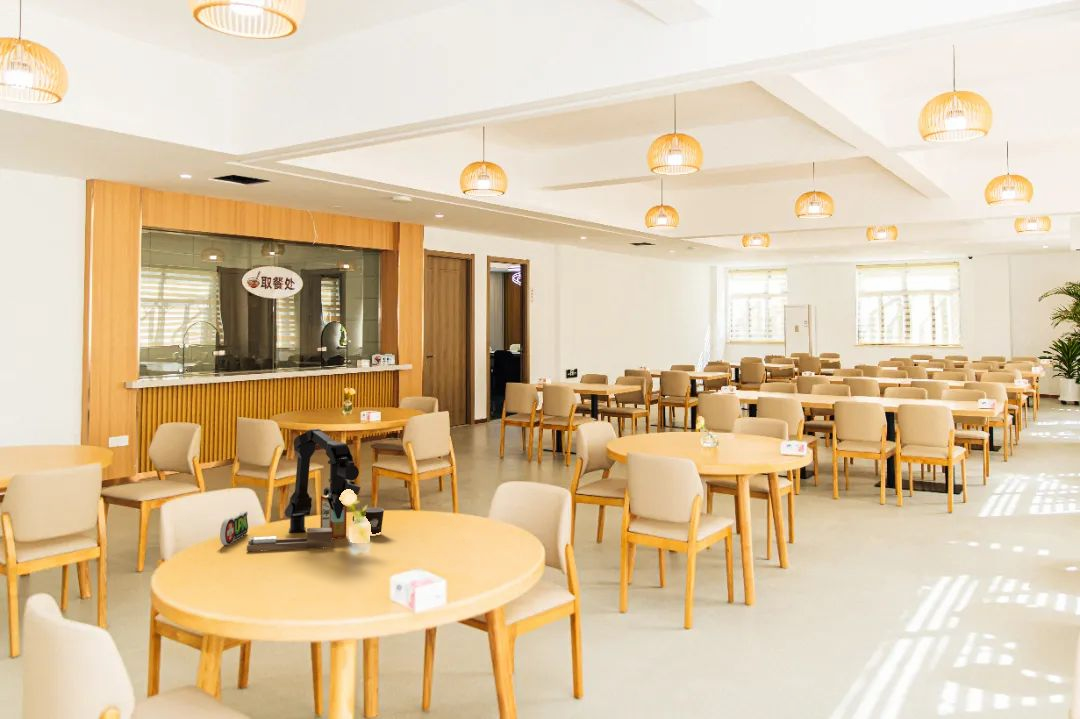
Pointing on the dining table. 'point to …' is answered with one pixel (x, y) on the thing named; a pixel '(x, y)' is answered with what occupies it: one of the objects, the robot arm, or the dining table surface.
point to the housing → (299, 541)
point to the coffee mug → (374, 519)
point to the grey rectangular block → (263, 540)
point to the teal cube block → (334, 518)
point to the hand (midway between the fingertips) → (337, 517)
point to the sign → (233, 528)
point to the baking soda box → (337, 527)
